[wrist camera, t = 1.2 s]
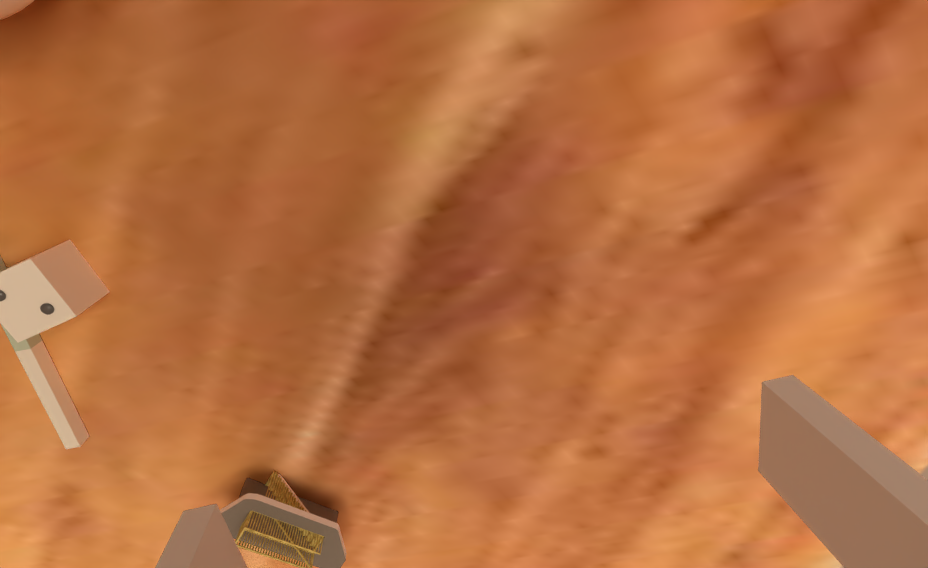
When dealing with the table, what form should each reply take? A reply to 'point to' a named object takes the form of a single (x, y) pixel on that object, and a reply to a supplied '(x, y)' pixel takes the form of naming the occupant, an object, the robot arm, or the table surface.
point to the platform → (285, 525)
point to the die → (47, 290)
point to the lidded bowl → (12, 7)
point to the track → (49, 388)
